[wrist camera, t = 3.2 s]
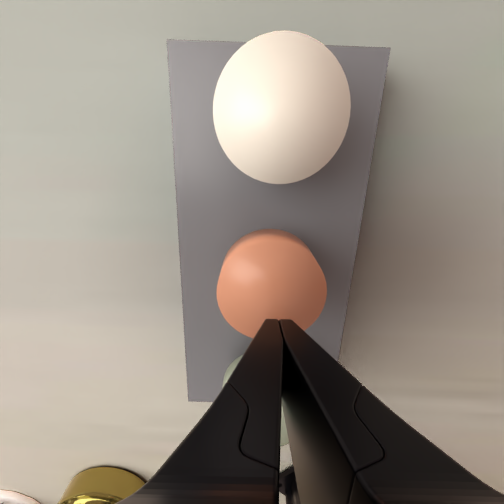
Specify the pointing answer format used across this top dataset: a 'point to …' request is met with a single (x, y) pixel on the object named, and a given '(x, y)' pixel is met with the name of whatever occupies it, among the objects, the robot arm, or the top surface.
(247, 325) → the terracotta button
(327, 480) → the robot arm
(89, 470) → the gold metal figurine
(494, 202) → the top surface
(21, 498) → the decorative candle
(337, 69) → the cream button
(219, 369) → the button panel
